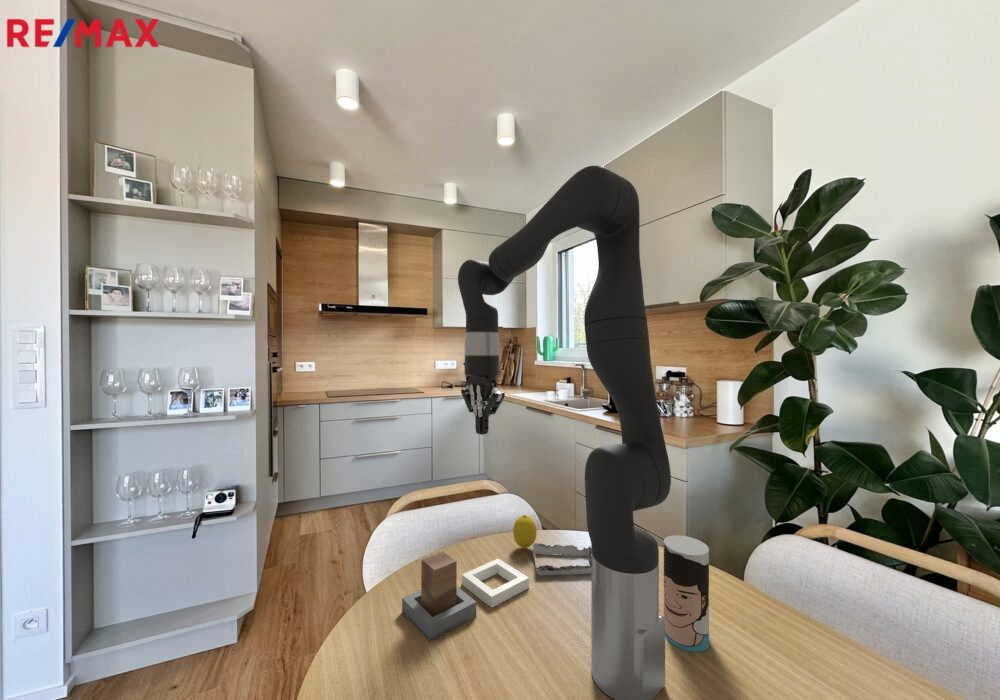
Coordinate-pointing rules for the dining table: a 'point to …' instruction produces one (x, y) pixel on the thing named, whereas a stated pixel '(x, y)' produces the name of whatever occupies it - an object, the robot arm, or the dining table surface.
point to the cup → (686, 592)
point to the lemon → (524, 531)
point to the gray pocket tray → (442, 621)
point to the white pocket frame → (502, 593)
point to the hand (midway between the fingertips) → (481, 433)
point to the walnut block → (438, 583)
